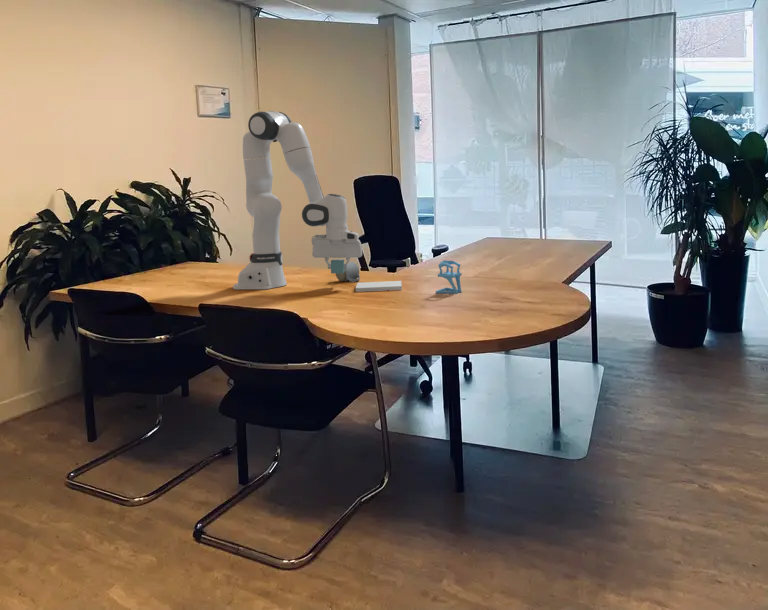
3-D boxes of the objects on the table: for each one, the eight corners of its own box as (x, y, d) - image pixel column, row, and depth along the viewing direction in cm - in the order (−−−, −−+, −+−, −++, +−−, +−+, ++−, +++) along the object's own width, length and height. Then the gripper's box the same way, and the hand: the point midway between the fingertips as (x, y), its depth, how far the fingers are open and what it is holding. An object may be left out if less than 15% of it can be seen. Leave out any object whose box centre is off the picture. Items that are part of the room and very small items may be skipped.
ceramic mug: (334, 281, 280) (333, 263, 278) (348, 278, 285) (348, 261, 284) (350, 283, 272) (349, 265, 271) (364, 280, 278) (364, 263, 276)
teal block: (331, 273, 263) (330, 261, 262) (332, 271, 268) (332, 259, 267) (343, 273, 263) (343, 261, 262) (344, 271, 268) (344, 259, 267)
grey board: (355, 291, 253) (355, 288, 252) (357, 286, 264) (357, 282, 264) (401, 289, 252) (401, 286, 252) (401, 284, 264) (401, 280, 263)
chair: (454, 295, 237) (453, 262, 235) (435, 293, 242) (434, 261, 240) (465, 291, 243) (464, 259, 241) (446, 289, 248) (445, 258, 246)
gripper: (310, 235, 259) (311, 269, 262) (361, 235, 259) (361, 269, 262) (312, 234, 266) (313, 267, 268) (362, 233, 265) (362, 267, 268)
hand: (337, 268), depth 265 cm, fingers closed on teal block, 5 cm apart
